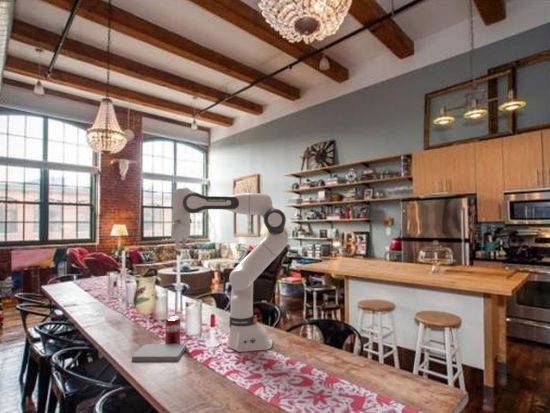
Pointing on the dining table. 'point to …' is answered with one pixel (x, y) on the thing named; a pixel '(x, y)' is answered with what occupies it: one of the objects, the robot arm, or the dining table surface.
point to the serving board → (159, 352)
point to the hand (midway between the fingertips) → (180, 247)
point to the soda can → (172, 330)
